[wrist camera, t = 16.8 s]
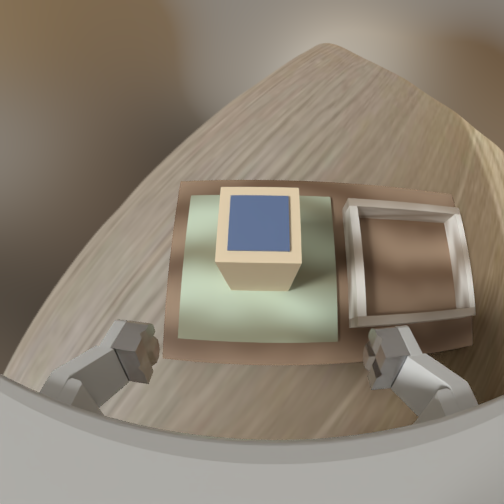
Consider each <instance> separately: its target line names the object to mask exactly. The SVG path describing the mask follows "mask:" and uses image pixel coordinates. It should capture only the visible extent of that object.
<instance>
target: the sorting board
mask: <svg viewBox="0 0 504 504" xmlns="http://www.w3.org/2000/svg"><path fill="white" fill-rule="evenodd" d="M221 187H288V188H299V200H300V223H301V253H302V264H301V266H300V268H299V270H298V272H297V274H296V276H295V278H294V280H293V282H292V285H291V287H290V289H289V291H240V290H231V289H230V287H229V286H228V284H227V282H226V281H225V279H224V277H223V275H222V274H221V272H220V270H219V268H218V267H217V265H216V263H215V253H216V239H217V226H218V213H219V202H220V190H221ZM473 315H476V312H475V299H474V289H473V281H472V273H471V266H470V260H469V254H468V248H467V243H466V238H465V233H464V228H463V224H462V220H461V215H460V211H459V208H455V206H454V202H453V198H452V195H451V194H445V193H438V192H430V191H423V190H414V189H405V188H396V187H386V186H375V185H362V184H349V183H333V182H313V181H283V180H209V181H181V183H180V189H179V195H178V202H177V208H176V215H175V222H174V230H173V238H172V246H171V254H170V263H169V273H168V283H167V295H166V308H165V322H164V340H163V358H165V359H174V360H183V361H194V362H207V363H222V364H243V365H317V364H338V363H353V362H363V350H364V347H365V344H366V343H368V342H369V341H370V340H369V337H368V335H369V332H370V330H371V329H372V328H383V327H395V326H404V325H407V326H408V327H409V328H410V330H411V332H412V334H413V336H414V338H415V340H416V342H417V343H418V345H419V347H420V349H421V351H422V353H423V354H425V353H426V354H429V353H435V352H441V351H446V350H452V349H457V348H462V347H466V346H471V345H473V327H472V316H473Z"/></svg>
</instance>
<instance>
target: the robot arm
mask: <svg viewBox="0 0 504 504" xmlns="http://www.w3.org/2000/svg"><path fill="white" fill-rule="evenodd" d="M154 333H155V329H154V326H153V325H152V324H151V323H143V322H136V321H127V320H120V319H117V320H115V321H114V323H113V324H112V326H111V328H110V329H109V331H108V332H107V334H106V336H105V337H104V339H103V341H102V342H101V344H100V345H99V346H95V347H93V348H91V349H89V350H88V351H86V352H84V353H83V354H81V355H79V356H77V357H76V358H74V359H72V360H70V361H69V362H67V363H65V364H64V365H62V366H60V367H58V368H57V369H55V370H53V371H52V373H51V374H50V376H49V378H48V379H47V381H46V382H45V384H44V386H43V387H42V389H41V391H40V392H37V391H35V390H32V389H30V388H28V387H26V386H24V385H22V384H19V383H17V382H15V381H13V380H11V379H9V378H7V377H5V376H4V375H1V374H0V504H504V395H502V396H499V397H497V398H495V399H492V400H490V401H487V402H485V403H482V404H480V405H478V403H477V401H476V398H475V396H474V394H473V392H472V390H471V388H470V386H469V384H468V382H467V381H465V380H464V379H462V378H461V377H460V376H458V375H457V374H455V373H454V372H452V371H451V370H449V369H448V368H446V367H445V366H444V365H442V364H441V363H439V362H438V361H436V360H435V359H433V358H432V357H430V356H429V355H427V354H426V353H425V354H423V353H422V351H421V349H420V347H419V345H418V343H417V342H416V340H415V338H414V336H413V334H412V332H411V330H410V328H409V327H408V326H407V325H404V326H395V327H383V328H372V329H371V330H370V332H369V335H368V337H369V340H370V341H369V342H368V343H366V344H365V347H364V350H363V363H364V367H365V368H366V369H367V370H368V371H369V374H368V376H367V377H368V380H369V384H370V387H371V390H374V389H384V388H391V389H392V390H393V391H394V392H395V393H396V394H397V395H398V396H399V397H400V398H401V399H402V400H403V401H404V402H405V403H406V404H407V405H408V407H409V408H410V409H411V410H412V411H413V412H414V413H415V414H416V415H417V416H418V418H417V420H416V421H415V422H414V424H413V425H409V426H405V427H400V428H395V429H390V430H385V431H379V432H373V433H366V434H359V435H351V436H342V437H332V438H320V439H301V440H254V439H235V438H222V437H211V436H202V435H194V434H187V433H180V432H174V431H168V430H163V429H157V428H152V427H147V426H143V425H138V424H134V423H130V422H126V421H122V420H118V419H114V418H110V417H107V416H104V414H103V413H102V412H101V410H100V409H99V407H100V406H102V405H103V404H104V403H105V402H106V401H108V400H109V399H110V398H111V397H112V396H113V395H115V394H116V393H117V392H118V391H119V390H120V389H122V388H123V387H124V386H125V385H126V384H127V383H128V382H129V381H133V382H139V383H146V384H149V381H150V379H151V376H152V373H153V369H152V366H153V365H154V364H155V363H157V360H158V358H159V351H160V349H159V343H158V340H157V339H156V338H155V337H154V336H153V335H154Z"/></svg>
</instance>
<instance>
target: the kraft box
mask: <svg viewBox="0 0 504 504" xmlns="http://www.w3.org/2000/svg"><path fill="white" fill-rule="evenodd" d="M215 263H216V265H217V267H218V268H219V270H220V272H221V274H222V275H223V277H224V279H225V281H226V282H227V284H228V286H229V287H230V289H231V290H240V291H289V289H290V287H291V285H292V282H293V280H294V278H295V276H296V274H297V272H298V270H299V268H300V266H301V264H302V253H301V223H300V200H299V188H288V187H221V190H220V202H219V213H218V226H217V239H216V253H215Z"/></svg>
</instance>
